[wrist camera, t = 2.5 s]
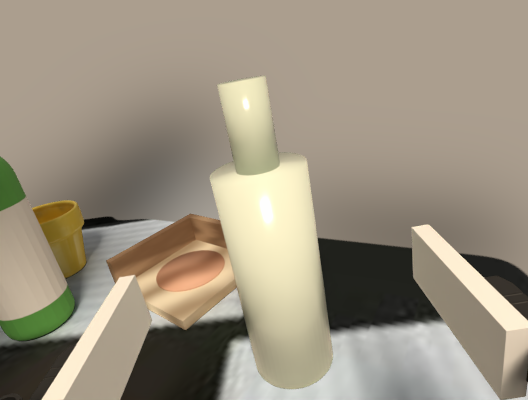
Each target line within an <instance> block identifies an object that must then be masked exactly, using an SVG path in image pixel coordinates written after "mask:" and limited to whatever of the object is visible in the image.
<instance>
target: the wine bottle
mask: <svg viewBox="0 0 528 400" xmlns="http://www.w3.org/2000/svg"><path fill="white" fill-rule="evenodd" d="M74 305H75V301H74V297H73V295H72V293H71V291H70V289H69V287H68V285H67V282H66V280H65V278H64V275H63V273H62V271H61V269H60V267H59V265H58V263H57V261H56V258H55V256H54V254H53V252H52V250H51V248H50V246H49V244H48V241H47V239H46V237H45V235H44V233H43V231H42V229H41V227H40V224H39V222H38V220H37V218H36V216H35V214H34V212H33V210H32V207H31V205H30V203H29V201H28V199H27V197H26V195H25V193H24V191H23V189H22V187H21V185H20V183H19V180H18V178H17V176H16V174H15V172H14V171H13V169H12V168H11V166H10V165H9V164H8V163H7V162H6V161H5V160H4V159H3V158H1V157H0V326H1V328H2V330H3V331H4V333H5V334H6V335H7V336H8V337H9V338H11V339H13V340H18V341H27V340H31V339H36V338H38V337H41V336H43V335H45V334H47V333H49V332H51V331H53V330H54V329H56V328H58V327H59V326H60V325H61V324H63V323H64V322H65V321H66V320H67V319H68V318H69V317H70V315H71V314H72V312H73V310H74Z"/></svg>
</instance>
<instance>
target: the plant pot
mask: <svg viewBox="0 0 528 400" xmlns="http://www.w3.org/2000/svg"><path fill="white" fill-rule="evenodd" d="M32 210H33V212H34V214H35V216H36V218H37V220H38V222H39V224H40V227H41V229H42V231H43V233H44V235H45V237H46V239H47V241H48V244H49V246H50V248H51V250H52V252H53V254H54V256H55V258H56V261H57V263H58V265H59V267H60V269H61V271H62V273H63V275H64V278H68V277H70V276H72V275H74V274H75V273H77V272H78V271H80V270H81V269H82V268H83V267H84V266H85V264H86V256H85V250H84V243H83V236H82V229H81V227H82V226H83V224H84V220H83V217H82V214H81V211H80V209H79V206H78V204H77V203H76V202H75V201H58V202H52V203H48V204H44V205H40V206H37V207H34V208H32Z"/></svg>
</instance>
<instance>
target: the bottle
mask: <svg viewBox="0 0 528 400" xmlns="http://www.w3.org/2000/svg"><path fill="white" fill-rule="evenodd" d="M217 87H218V91H219V96H220V100H221V105H222V110H223V114H224V118H225V123H226V128H227V133H228V137H229V142H230V147H231V151H232V156H233V160H234V161H232V162H230V163H227V164H225V165H223V166H221V167H219V168H218V169H216V170H215V171H214V172H213V173H212V174H211V175H210V181H211V185H212V189H213V193H214V197H215V201H216V205H217V209H218V213H219V217H220V221H221V226H222V230H223V234H224V238H225V242H226V246H227V250H228V254H229V258H230V262H231V266H232V270H233V274H234V278H235V282H236V286H237V290H238V294H239V298H240V302H241V306H242V310H243V314H244V318H245V322H246V326H247V330H248V334H249V338H250V342H251V346H252V350H253V354H254V358H255V362H256V366H257V369H258V372H259V374H260V375H261V376H262V378H263V379H264V380H265V381H267V382H268V383H270V384H271V385H273V386H276V387H279V388H283V389H299V388H304V387H307V386H310V385H312V384H314V383H316V382H317V381H319V380H320V379H321V378H322V377H323V376H324V375H325V374H326V373H327V372H328V370H329V368H330V366H331V364H332V360H333V351H332V343H331V336H330V329H329V321H328V314H327V306H326V299H325V291H324V284H323V277H322V269H321V262H320V254H319V247H318V240H317V232H316V226H315V217H314V211H313V203H312V196H311V189H310V180H309V173H308V166H307V160H306V158H305V157H304V156H302V155H300V154H296V153H286V152H282V153H278V148H277V142H276V137H275V130H274V124H273V118H272V113H271V106H270V100H269V94H268V88H267V82H266V76H256V77H250V78H245V79H239V80H234V81H230V82H225V83H222V84H218V86H217Z"/></svg>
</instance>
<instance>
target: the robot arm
mask: <svg viewBox="0 0 528 400" xmlns="http://www.w3.org/2000/svg"><path fill="white" fill-rule="evenodd" d="M412 255H413V278H414V279H415V281H416V282H417V283H418V285H419V286H420V288H421V289H422V290H423V292H424V293H425V295H426V296H427V297H428V299H429V300H430V302H431V303H432V304H433V306H434V307H435V309H436V310H437V312H438V313H439V314H440V316H441V317H442V319H443V320H444V321H445V323H446V324H447V326H448V327H449V328H450V330H451V331H452V333H453V334H454V335H455V337H456V338H457V340H458V341H459V342H460V344H461V345H462V347H463V348H464V349H465V351H466V352H467V354H468V355H469V356H470V358H471V359H472V361H473V362H474V364H475V365H476V366H477V368H478V369H479V371H480V372H481V373H482V375H483V376H484V378H485V379H486V380H487V382H488V383H489V385H490V386H491V387H492V389H493V390H494V392H495V393H496V394H497V396H498V397H499V399H500V400H505V399H512V398H518V397H525V396H526V390H527V382H528V297H527V296H526V295H525V294H523V293H522V291H520V290H519V289H518V288H517V287H516V286H515V285H514V284H513V283H511V282H509V281H507V280H505V279H503V278H501V277H499V276H492V277H486V278H483V277H482V276H481V275H480V274H479V273H478V272H477V271H476V270H475V269H474V268H473V267H472V266H471V265H470V264H469V263H468V262H467V261H466V260H465V259H464V258H463V257H462V256H461V255H459V254H458V253H457V252H456V251H455V250H454V249H453V248H452V247H451V246H450V245H449V244H448V243H447V242H446V241H445V240H444V239H443V238H442V237H441V236H440V235H439V234H438V233H437V232H436V231H435V230H434V229H433V228H432V227H431V226H430V225H422V226H416V227H412ZM151 322H152V318H151V316H150V313H149V310H148V308H147V305H146V303H145V300H144V297H143V295H142V292H141V289H140V287H139V284H138V282H137V279H136V276H135V275H131V276H125V277H119V279H118V281H117V282H116V284H115V285H114V287H113V288H112V290H111V292H110V293H109V295H108V296H107V298H106V299H105V301H104V303H103V304H102V306H101V307H100V309H99V310H98V312H97V313H96V315H95V317H94V318H93V320H92V321H91V323H90V324H89V326H88V328H87V329H86V331H85V332H84V334H83V335H82V337H81V339H80V340H79V342H78V343H77V345H71V346H69V347H68V348H67V349H66V350H65V351H64V352H62V353H61V354H60V355H59V356H58V357H57V359H56V360H55V362H54V363H53V365H52V366H51V368H50V370H49V371H48V372H47V374H46V375H45V377H44V380H42V381H41V383H40V384H39V386H38V387H37V389H36V390H35V392H34V393H33V395H32V396H31V398H30V399H29V400H120V398H121V396H122V393H123V391H124V389H125V386H126V384H127V381H128V379H129V376H130V374H131V371H132V369H133V366H134V364H135V361H136V359H137V357H138V354H139V352H140V349H141V347H142V344H143V342H144V339H145V337H146V334H147V332H148V329H149V327H150V325H151ZM0 400H23V399H22V397H21V396H20V395H19V394H14V393H12V394H8V395H4V396H2V397H0Z"/></svg>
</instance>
